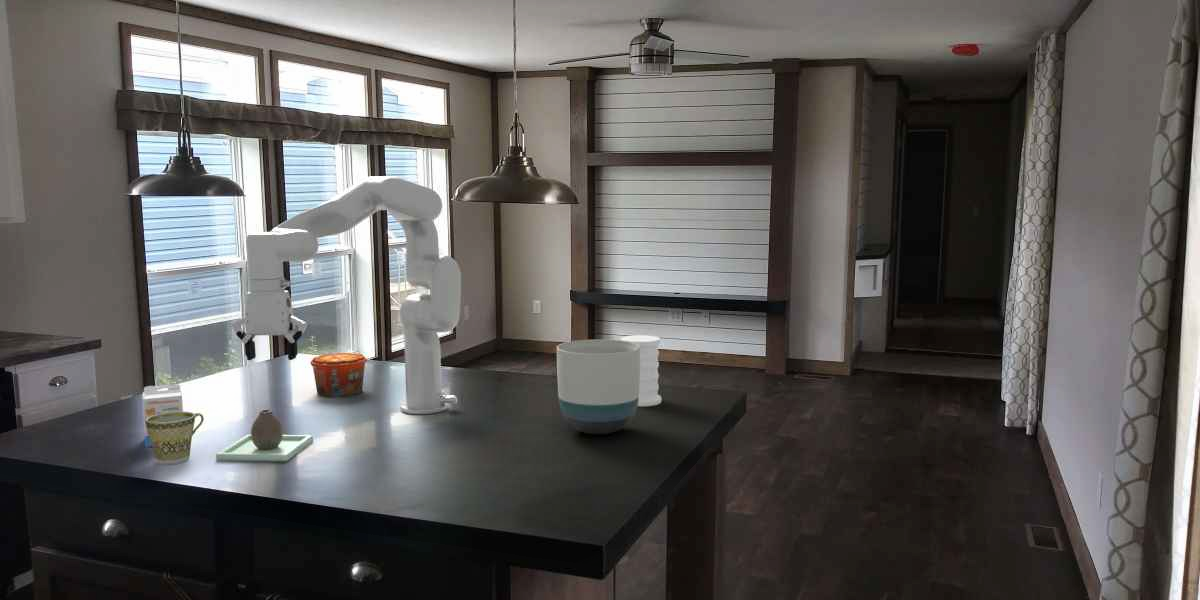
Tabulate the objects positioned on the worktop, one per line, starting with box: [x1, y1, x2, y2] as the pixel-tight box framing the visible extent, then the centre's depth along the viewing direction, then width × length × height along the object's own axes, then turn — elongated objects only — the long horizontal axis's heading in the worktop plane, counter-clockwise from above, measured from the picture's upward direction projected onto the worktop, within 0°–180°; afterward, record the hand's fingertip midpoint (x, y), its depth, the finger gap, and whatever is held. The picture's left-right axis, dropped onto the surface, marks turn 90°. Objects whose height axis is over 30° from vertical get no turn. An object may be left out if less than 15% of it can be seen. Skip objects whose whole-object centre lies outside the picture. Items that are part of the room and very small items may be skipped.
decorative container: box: [620, 334, 662, 407], centre depth 255 cm, size 12×12×18 cm
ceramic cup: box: [145, 411, 205, 466], centre depth 204 cm, size 13×10×10 cm
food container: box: [310, 352, 368, 398], centre depth 268 cm, size 16×16×11 cm
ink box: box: [142, 383, 184, 448], centre depth 218 cm, size 9×8×13 cm
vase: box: [250, 409, 284, 450], centre depth 210 cm, size 7×7×9 cm
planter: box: [556, 339, 640, 436], centre depth 223 cm, size 20×20×21 cm
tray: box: [215, 433, 314, 462], centre depth 210 cm, size 16×16×2 cm
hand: (271, 359), depth 211 cm, fingers open, 9 cm apart
